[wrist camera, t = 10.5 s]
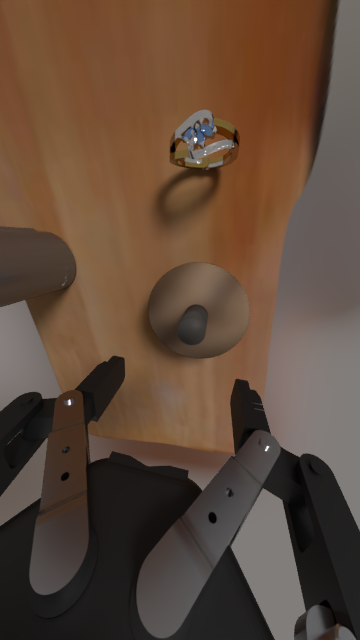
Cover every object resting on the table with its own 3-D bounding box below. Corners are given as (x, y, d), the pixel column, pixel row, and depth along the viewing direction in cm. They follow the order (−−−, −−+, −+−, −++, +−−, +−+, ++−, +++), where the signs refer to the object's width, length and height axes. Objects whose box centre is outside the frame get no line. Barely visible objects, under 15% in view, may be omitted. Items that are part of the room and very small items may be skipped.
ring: (177, 181, 24) (158, 156, 17) (178, 149, 23) (158, 106, 15) (233, 182, 23) (239, 155, 15) (237, 148, 21) (247, 101, 14)
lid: (134, 319, 27) (113, 338, 22) (185, 238, 22) (175, 237, 16) (205, 370, 28) (202, 400, 23) (272, 306, 22) (288, 325, 17)
